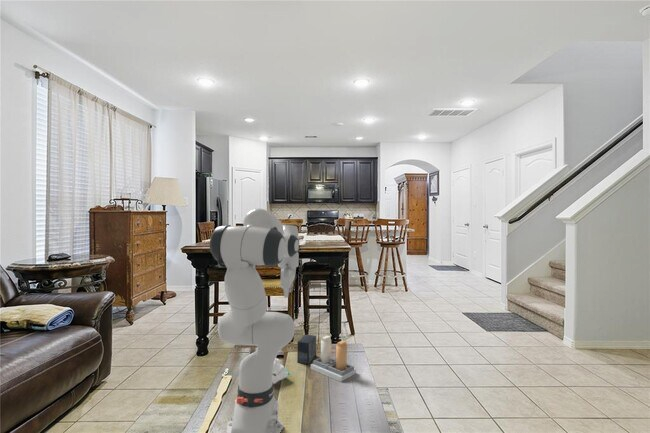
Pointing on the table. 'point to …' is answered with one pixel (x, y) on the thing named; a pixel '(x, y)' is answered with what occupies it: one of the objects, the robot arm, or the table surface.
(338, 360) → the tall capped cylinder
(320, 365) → the grey base with column
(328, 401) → the table surface
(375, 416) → the table surface
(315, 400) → the table surface
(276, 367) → the partial skull model
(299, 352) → the small box
